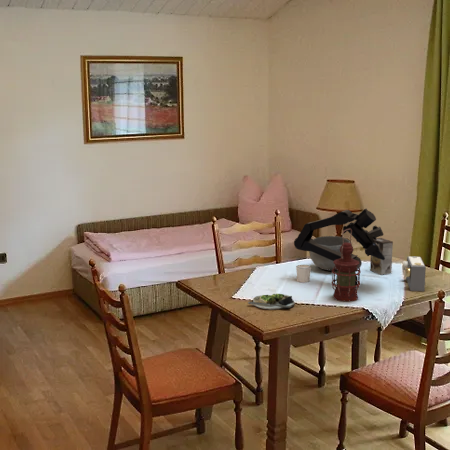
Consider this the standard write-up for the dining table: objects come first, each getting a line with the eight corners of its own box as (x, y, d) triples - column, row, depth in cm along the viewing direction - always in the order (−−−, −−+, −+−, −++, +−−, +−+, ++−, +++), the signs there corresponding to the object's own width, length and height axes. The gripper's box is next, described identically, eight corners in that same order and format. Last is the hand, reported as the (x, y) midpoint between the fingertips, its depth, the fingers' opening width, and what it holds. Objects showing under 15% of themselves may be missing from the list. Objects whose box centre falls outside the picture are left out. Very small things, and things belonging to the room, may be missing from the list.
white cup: (293, 281, 295) (293, 267, 293) (299, 278, 301) (299, 263, 299) (307, 283, 292) (307, 269, 290) (312, 279, 297) (313, 265, 296)
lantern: (350, 304, 262) (352, 233, 256) (325, 298, 270) (326, 229, 264) (365, 297, 271) (367, 228, 265) (340, 291, 279) (341, 225, 273)
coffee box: (369, 270, 311) (370, 238, 308) (380, 269, 314) (381, 237, 311) (381, 275, 303) (382, 242, 300) (392, 273, 306) (393, 241, 302)
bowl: (302, 265, 322) (303, 237, 319) (339, 262, 328) (339, 234, 325) (320, 276, 303) (321, 245, 300) (358, 272, 309) (359, 242, 306)
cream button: (403, 270, 290) (403, 262, 289) (402, 268, 294) (402, 260, 293) (409, 270, 289) (410, 262, 289) (409, 268, 293) (409, 260, 293)
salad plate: (250, 313, 254) (250, 302, 253) (244, 299, 272) (244, 289, 271) (297, 310, 256) (297, 300, 255) (289, 297, 273) (289, 287, 272)
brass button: (405, 278, 278) (406, 269, 278) (404, 275, 282) (405, 266, 281) (412, 278, 278) (413, 269, 277) (411, 275, 282) (412, 267, 281)
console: (410, 290, 278) (411, 265, 276) (406, 279, 296) (407, 255, 293) (424, 291, 277) (425, 265, 275) (419, 279, 294) (420, 255, 292)
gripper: (373, 225, 269) (399, 251, 269) (371, 217, 287) (395, 241, 287) (354, 243, 272) (380, 268, 272) (353, 233, 290) (377, 257, 290)
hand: (384, 258), depth 280 cm, fingers open, 3 cm apart
